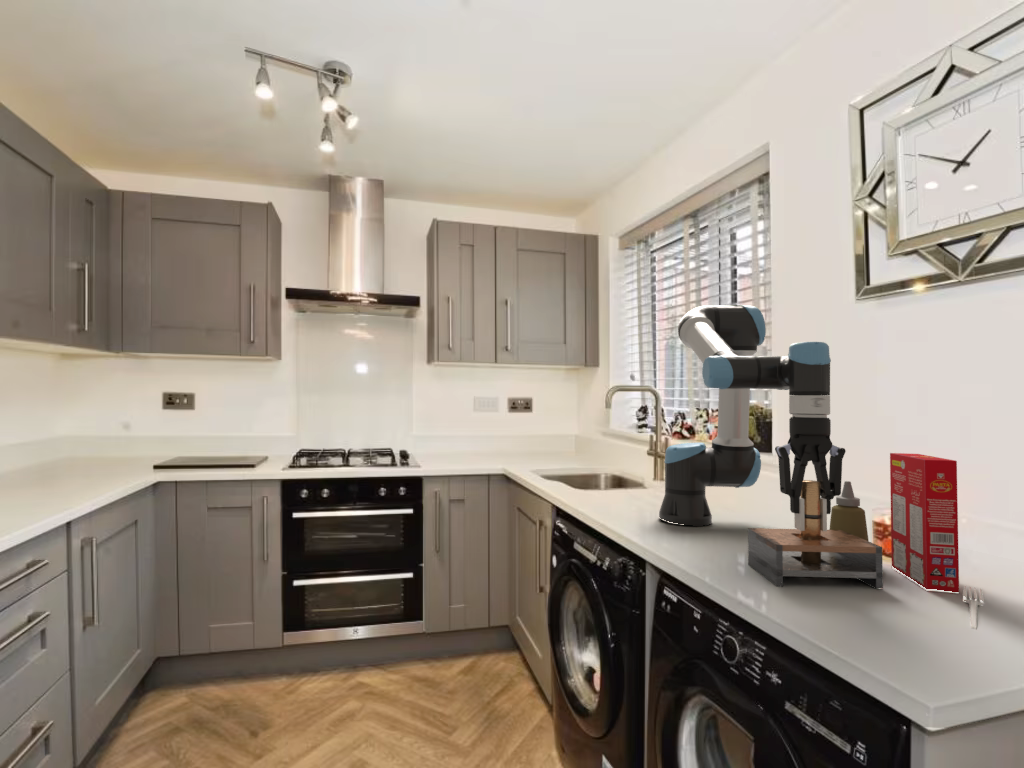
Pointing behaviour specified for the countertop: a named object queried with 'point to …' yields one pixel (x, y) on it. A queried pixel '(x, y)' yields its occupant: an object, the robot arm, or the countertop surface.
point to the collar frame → (839, 551)
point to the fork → (973, 606)
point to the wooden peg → (811, 519)
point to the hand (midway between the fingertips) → (810, 529)
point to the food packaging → (925, 519)
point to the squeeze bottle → (849, 514)
